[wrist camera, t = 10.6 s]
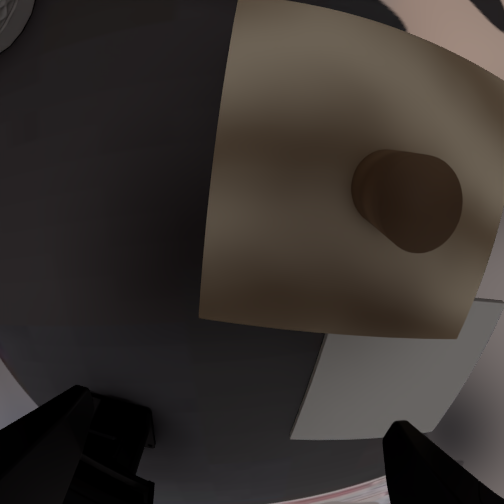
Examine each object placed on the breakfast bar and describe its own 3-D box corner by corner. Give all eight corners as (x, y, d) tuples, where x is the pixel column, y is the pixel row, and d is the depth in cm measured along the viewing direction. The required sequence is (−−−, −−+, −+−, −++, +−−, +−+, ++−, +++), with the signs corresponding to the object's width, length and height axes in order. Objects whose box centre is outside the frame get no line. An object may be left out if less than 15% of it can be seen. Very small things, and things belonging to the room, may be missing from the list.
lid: (441, 321, 16) (483, 373, 11) (205, 297, 16) (184, 362, 11) (495, 91, 11) (560, 89, 6) (241, 12, 11) (232, -44, 6)
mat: (430, 427, 26) (432, 431, 25) (289, 434, 25) (289, 439, 25) (501, 300, 20) (505, 303, 20) (339, 282, 20) (342, 286, 19)
